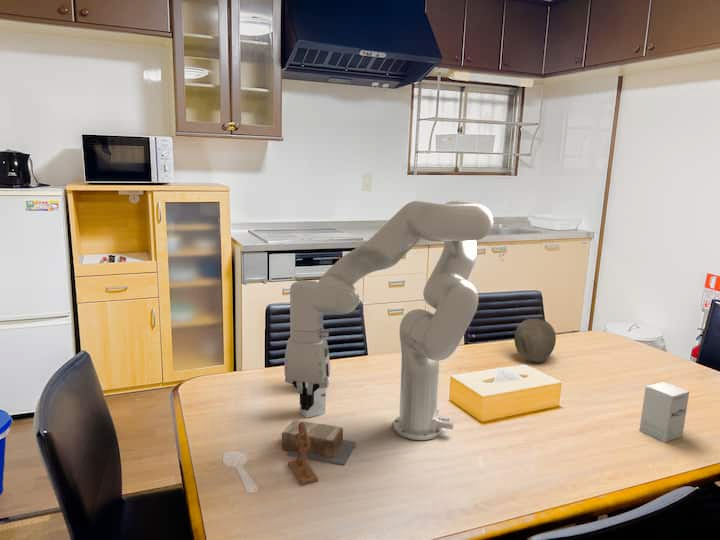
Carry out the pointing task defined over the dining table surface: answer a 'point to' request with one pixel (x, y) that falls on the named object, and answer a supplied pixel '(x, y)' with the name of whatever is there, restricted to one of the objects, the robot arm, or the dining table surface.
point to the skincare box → (316, 403)
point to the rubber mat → (338, 459)
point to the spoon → (240, 468)
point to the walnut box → (314, 438)
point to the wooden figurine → (302, 459)
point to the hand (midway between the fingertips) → (306, 407)
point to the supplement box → (664, 411)
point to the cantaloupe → (535, 339)
